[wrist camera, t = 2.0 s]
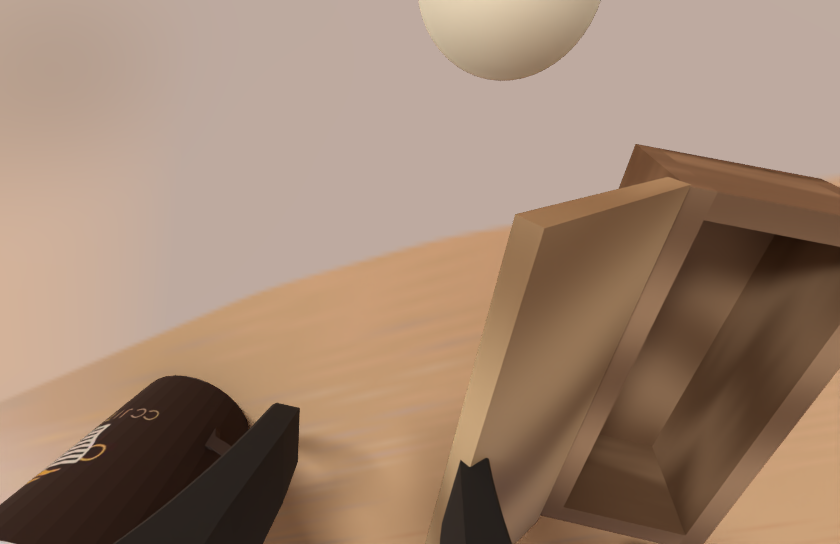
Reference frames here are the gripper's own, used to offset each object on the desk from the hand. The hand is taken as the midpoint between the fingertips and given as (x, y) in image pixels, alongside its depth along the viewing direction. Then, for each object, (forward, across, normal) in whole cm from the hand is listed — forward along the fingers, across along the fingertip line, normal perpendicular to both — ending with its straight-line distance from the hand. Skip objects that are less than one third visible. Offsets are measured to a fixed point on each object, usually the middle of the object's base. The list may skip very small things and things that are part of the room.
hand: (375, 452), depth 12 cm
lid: (+2, -4, 0) cm, 5 cm away
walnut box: (+10, -10, 0) cm, 14 cm away
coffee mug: (+10, +10, +12) cm, 19 cm away
